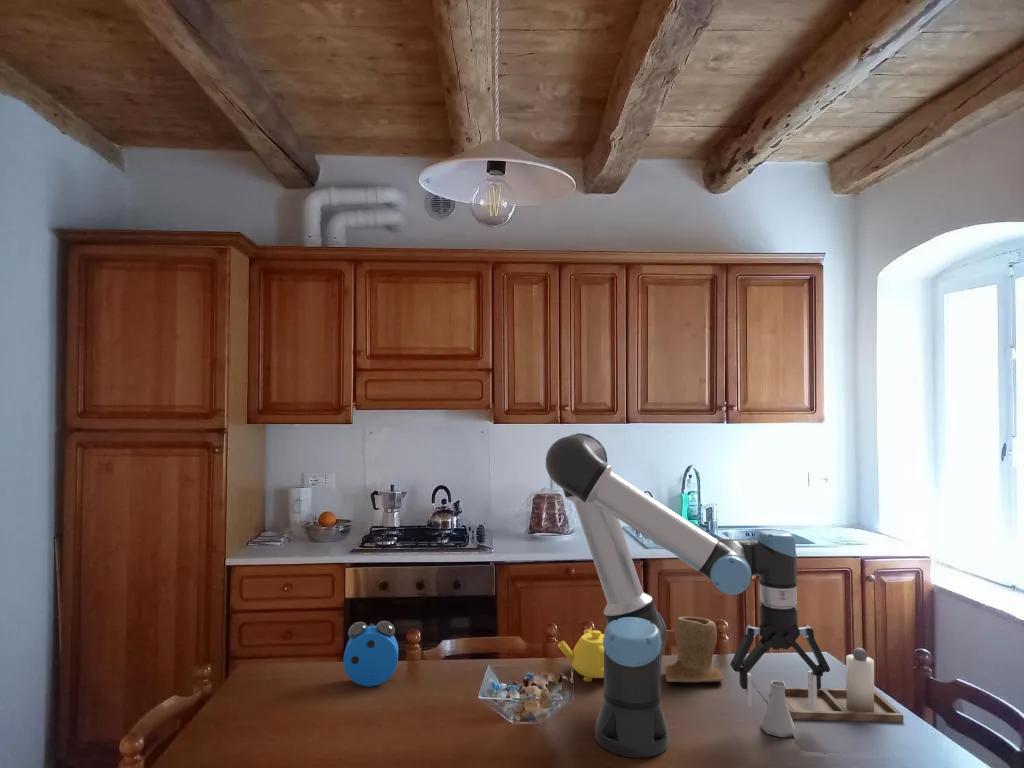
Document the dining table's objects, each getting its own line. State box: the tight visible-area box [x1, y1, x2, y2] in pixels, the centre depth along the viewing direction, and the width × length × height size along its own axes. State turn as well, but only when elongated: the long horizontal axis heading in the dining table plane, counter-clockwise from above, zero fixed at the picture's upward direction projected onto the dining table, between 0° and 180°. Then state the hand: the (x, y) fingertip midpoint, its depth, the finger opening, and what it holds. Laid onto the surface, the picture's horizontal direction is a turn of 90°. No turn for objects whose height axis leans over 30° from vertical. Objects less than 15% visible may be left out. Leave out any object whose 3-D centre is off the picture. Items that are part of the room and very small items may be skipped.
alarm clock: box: [342, 620, 399, 687], centre depth 168 cm, size 13×6×15 cm, turn 98°
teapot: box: [557, 628, 604, 683], centre depth 174 cm, size 14×14×11 cm
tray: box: [770, 686, 904, 723], centre depth 155 cm, size 24×13×2 cm, turn 87°
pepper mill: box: [845, 647, 875, 712], centre depth 154 cm, size 6×6×14 cm
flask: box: [760, 680, 796, 738], centre depth 145 cm, size 7×7×10 cm
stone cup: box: [664, 616, 724, 683], centre depth 172 cm, size 15×12×15 cm
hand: (780, 703), depth 145 cm, fingers open, 13 cm apart
